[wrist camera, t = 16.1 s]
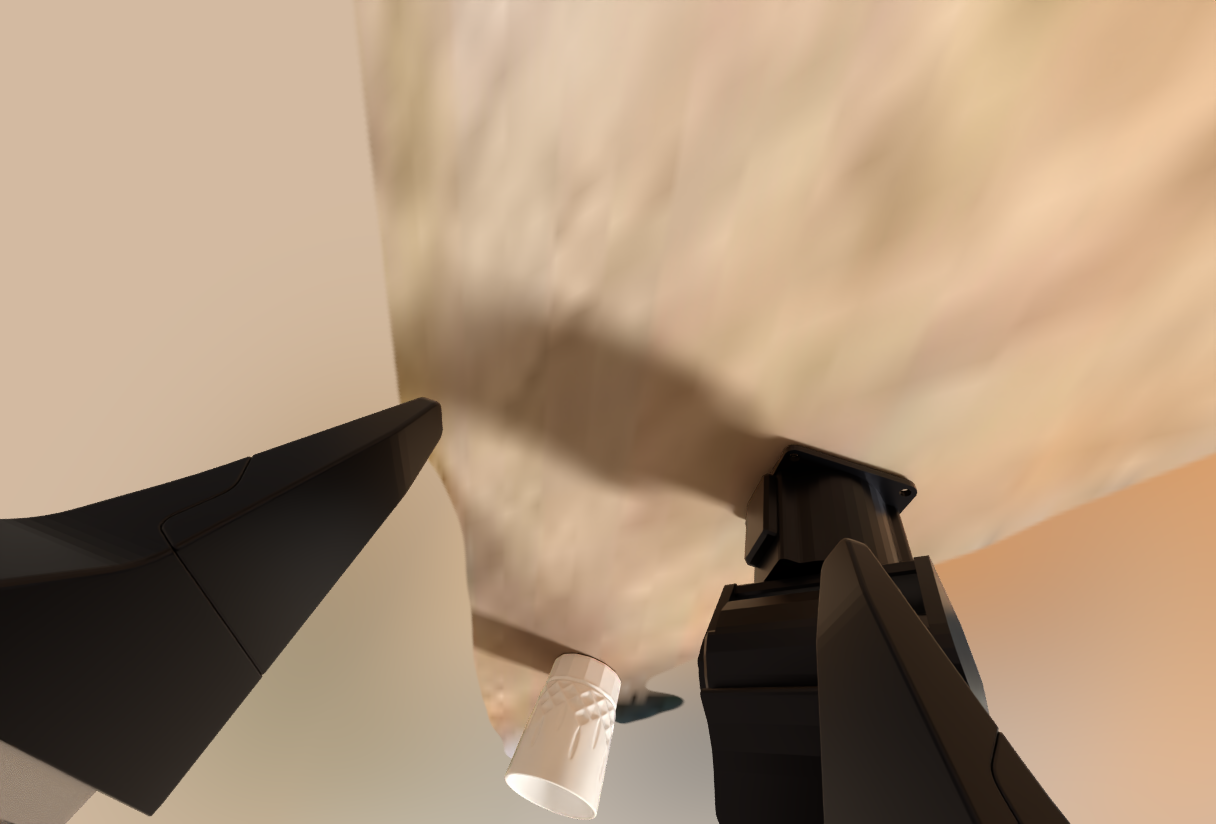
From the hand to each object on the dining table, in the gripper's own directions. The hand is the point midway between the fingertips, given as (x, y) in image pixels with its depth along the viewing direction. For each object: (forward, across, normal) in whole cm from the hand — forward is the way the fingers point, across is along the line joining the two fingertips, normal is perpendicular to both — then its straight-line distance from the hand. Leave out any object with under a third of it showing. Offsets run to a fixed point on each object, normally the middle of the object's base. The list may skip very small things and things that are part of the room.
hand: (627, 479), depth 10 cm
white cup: (+13, -1, +40) cm, 42 cm away
